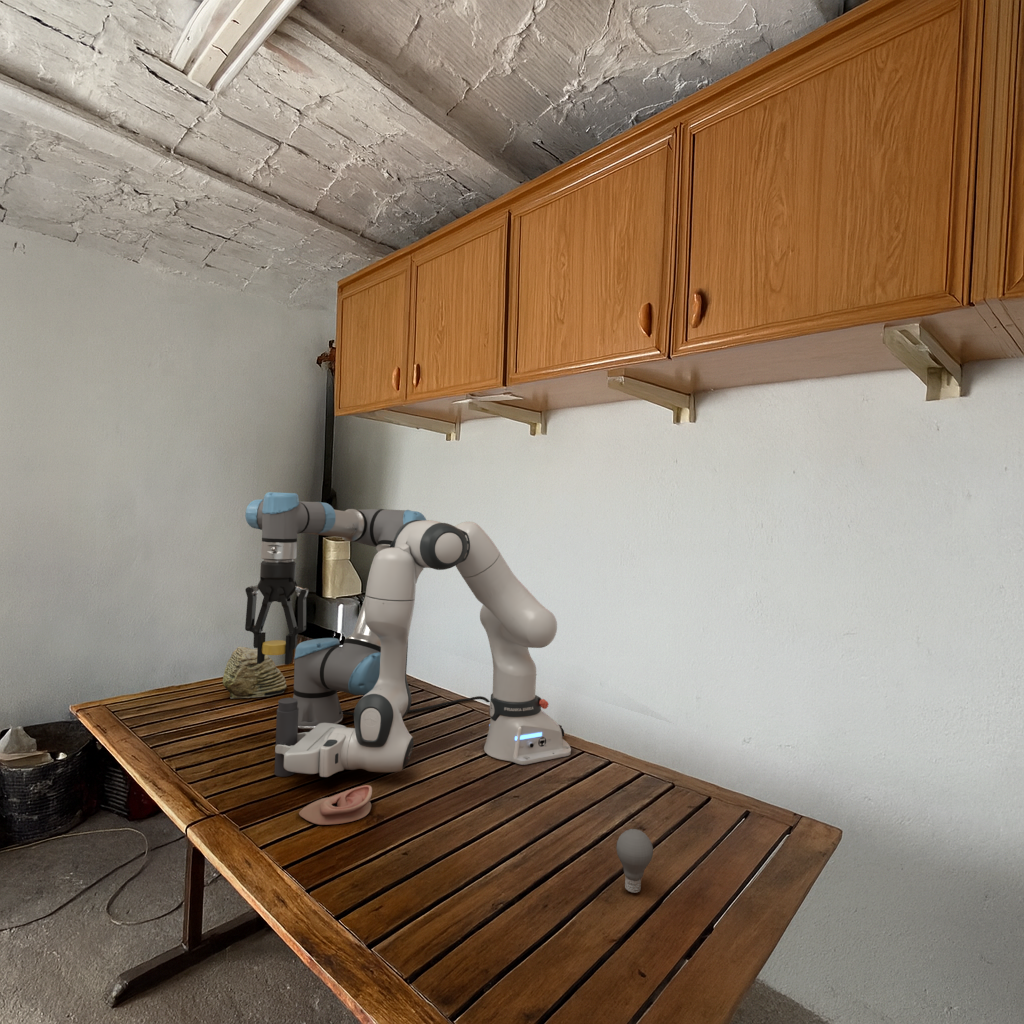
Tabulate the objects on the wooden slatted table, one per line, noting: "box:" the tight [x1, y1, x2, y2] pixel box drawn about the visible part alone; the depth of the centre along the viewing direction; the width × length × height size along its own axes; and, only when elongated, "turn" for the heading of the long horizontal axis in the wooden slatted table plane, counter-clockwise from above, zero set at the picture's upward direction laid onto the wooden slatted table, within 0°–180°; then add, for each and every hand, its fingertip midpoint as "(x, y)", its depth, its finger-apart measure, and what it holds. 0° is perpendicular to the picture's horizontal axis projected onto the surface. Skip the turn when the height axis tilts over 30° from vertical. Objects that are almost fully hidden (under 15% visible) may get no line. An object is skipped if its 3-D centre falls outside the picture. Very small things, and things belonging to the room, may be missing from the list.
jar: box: [274, 697, 299, 778], centre depth 144 cm, size 5×5×16 cm
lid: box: [262, 639, 286, 656], centre depth 143 cm, size 6×6×2 cm
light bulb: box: [615, 828, 654, 894], centre depth 106 cm, size 6×6×10 cm
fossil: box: [222, 646, 288, 699], centre depth 198 cm, size 9×18×15 cm, turn 132°
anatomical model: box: [298, 784, 373, 826], centre depth 127 cm, size 13×4×12 cm
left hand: (274, 662), depth 143 cm, fingers closed on lid, 5 cm apart
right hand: (282, 742), depth 145 cm, fingers closed on jar, 5 cm apart
